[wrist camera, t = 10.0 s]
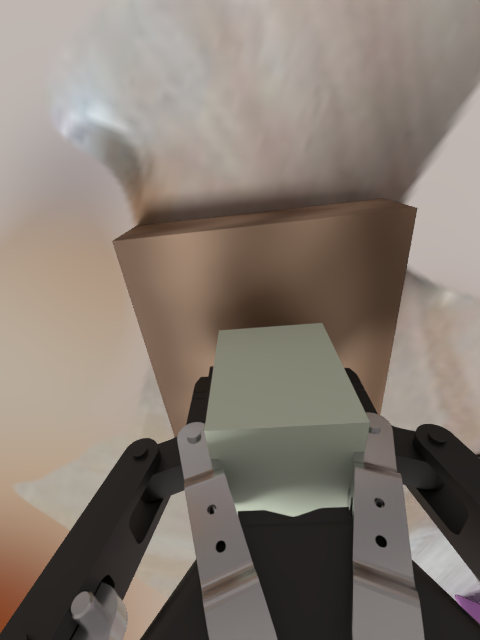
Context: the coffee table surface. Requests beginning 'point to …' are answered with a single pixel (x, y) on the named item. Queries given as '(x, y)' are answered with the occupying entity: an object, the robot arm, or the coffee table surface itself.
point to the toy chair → (469, 607)
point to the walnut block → (268, 286)
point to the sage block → (283, 419)
